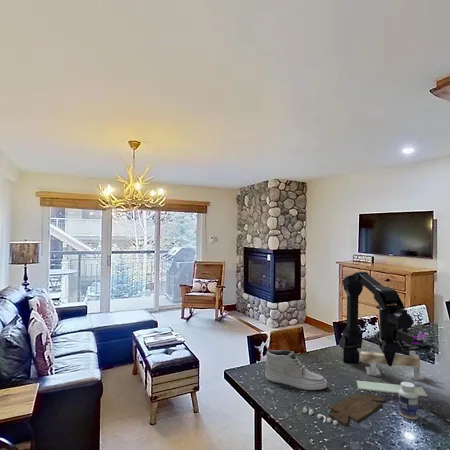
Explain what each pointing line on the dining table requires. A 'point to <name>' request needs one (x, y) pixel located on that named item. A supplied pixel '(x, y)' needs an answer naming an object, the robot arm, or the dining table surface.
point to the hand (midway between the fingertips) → (389, 364)
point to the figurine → (416, 340)
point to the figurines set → (320, 416)
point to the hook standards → (412, 374)
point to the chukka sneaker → (291, 371)
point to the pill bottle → (408, 401)
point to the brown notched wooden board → (355, 408)
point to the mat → (386, 388)
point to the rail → (398, 359)
